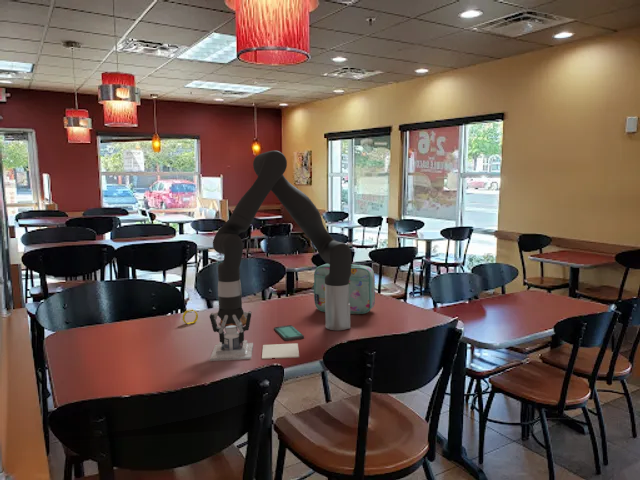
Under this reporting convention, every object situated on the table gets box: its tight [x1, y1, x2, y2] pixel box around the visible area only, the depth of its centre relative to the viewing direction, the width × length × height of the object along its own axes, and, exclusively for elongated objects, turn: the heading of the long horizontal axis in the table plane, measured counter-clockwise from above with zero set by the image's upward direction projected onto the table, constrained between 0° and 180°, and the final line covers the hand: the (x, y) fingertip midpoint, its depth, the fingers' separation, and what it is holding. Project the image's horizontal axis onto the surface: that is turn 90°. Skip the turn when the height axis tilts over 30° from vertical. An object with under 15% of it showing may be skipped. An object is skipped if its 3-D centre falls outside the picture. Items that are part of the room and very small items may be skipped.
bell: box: [219, 315, 247, 327], centre depth 195 cm, size 12×12×7 cm
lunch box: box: [311, 263, 376, 315], centre depth 206 cm, size 27×10×21 cm, turn 73°
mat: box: [261, 342, 300, 360], centre depth 162 cm, size 12×12×1 cm
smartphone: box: [273, 324, 305, 342], centre depth 180 cm, size 7×1×15 cm
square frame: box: [209, 339, 254, 362], centre depth 162 cm, size 13×13×2 cm
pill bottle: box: [223, 325, 240, 350], centre depth 161 cm, size 5×5×9 cm
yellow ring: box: [182, 307, 199, 325], centre depth 194 cm, size 6×3×6 cm, turn 127°
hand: (232, 342), depth 161 cm, fingers closed on pill bottle, 5 cm apart
